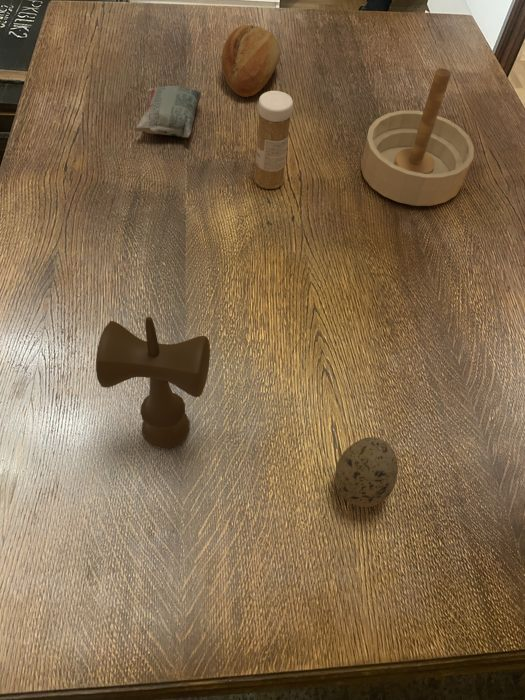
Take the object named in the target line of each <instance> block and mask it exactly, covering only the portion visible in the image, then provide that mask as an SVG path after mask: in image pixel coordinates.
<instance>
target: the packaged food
mask: <svg viewBox="0 0 525 700" xmlns="http://www.w3.org/2000/svg"><path fill="white" fill-rule="evenodd" d="M147 93H148V96H149V98H148V104H147V106H146V107H145V112H144V113H143V116H142V117H141V119H140V120H139V122H138V124H137V125H136V127H134V128H133V130H134V131H135V132H136V133H138V132H139V133H140V132H141V133H142V132H144V133H147V134H153V135H162V136H172V137H179V138H185V139H188V138H191V135H192V130H193V126H194V122H195V116H196V111H197V109H198V107H199V102H200V100H201V98H202V93H201V91H200V90H197V89H193V88H189V87H185V86H182V85H165V86H164V85H163V86H155V87H152V88H151V87H150V88H148V90H147Z"/></svg>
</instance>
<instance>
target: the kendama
mask: <svg viewBox="0 0 525 700" xmlns="http://www.w3.org/2000/svg"><path fill="white" fill-rule="evenodd" d="M145 337H146V340H143V339H142V338H140V337H138V336H137V335H135V334H134V333H132V332H131V331H130V330H128V329H127V328H126V327H125V326H123V325H122V324H120V323H119V322H117V321H114V320H110V321H109V322H108V323H107V325H105V327H104V328H103V331H102V333H101V335H100V338H99V341H98V345H97V351H96V357H95V373H96V379H97V382H98V384H99V385H100V387H101V388H105V389H107V388H111V387H114V386H117V385H120V384H121V383H123V382H125V381H128V380H131V379H133V378H148V379H149V393H148V395H147V396H145V398H143V400H142V403H141V405H140V414H139V415H140V416H141V419H142V423H141V434H142V436H143V440H144V441H145V442H146V443H148V444H149V445H150V446H152V447H154V448H158V449H173V448H176V447H179V446H181V444H183V443H184V442H185V440H186V439H187V438H188V434H189V432H190V423H191V422H190V419H189V417H188V414H187V413H186V404H185V402H184V399H183V397H181V396H180V395H179V394H177V393H175V392H173V391H172V388H171V386H170V384H171V385H173V386H175V387H176V388H178V389H179V390H181V391H183V392H185V393H186V394H188V395H189V396H191V397H194V398H200V397H201V396H202V395H203V392H204V390H205V387H206V383H207V381H208V374H209V368H210V360H211V359H210V358H211V345H210V340H209V338H208V336H205V335H199V336H195V337H192V338H189V339H187V340H184V341H181V342H178V343H171V344H170V343H168V344H167V343H160V342H159V340H158V336H157V332H156V326H155V323H154V320H153V318H152V317H150V316H146V317H145Z"/></svg>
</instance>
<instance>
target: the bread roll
mask: <svg viewBox="0 0 525 700" xmlns="http://www.w3.org/2000/svg"><path fill="white" fill-rule="evenodd" d="M281 54H282V53H281V46H280V43H279V41H278V39H277V38H276V36H275V35H274V33H273V32H272V31H269V30H267V29H265V28H263V27H260V26H254V25H253V24H250V25H249V24H242V25H240V26H238V27H236V28H235V29H234V30H232V31H231V33H230V34H229V36H228V37H227V38H226V41H225V42H224V45H223V48H222V51H221V59H220V60H221V68H222V72H223V75H224V77H225V80H226V83H227V84H228V86H229V88H230V89H231V90H232V91H233V92H234V93H235V94H237V95H238V96H240V97H243V98H246V97H247V98H249V97H251V96H255V95H256V94H257V93H259V92H260V91H261V90H262V89H263V88H264V87H265V86H266V85H267V83H268V82H269V80H270V79H271V77H272V75H273V73H274V72H275V71H276V68H277V67H278V64H279V63H280V59H281Z"/></svg>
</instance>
